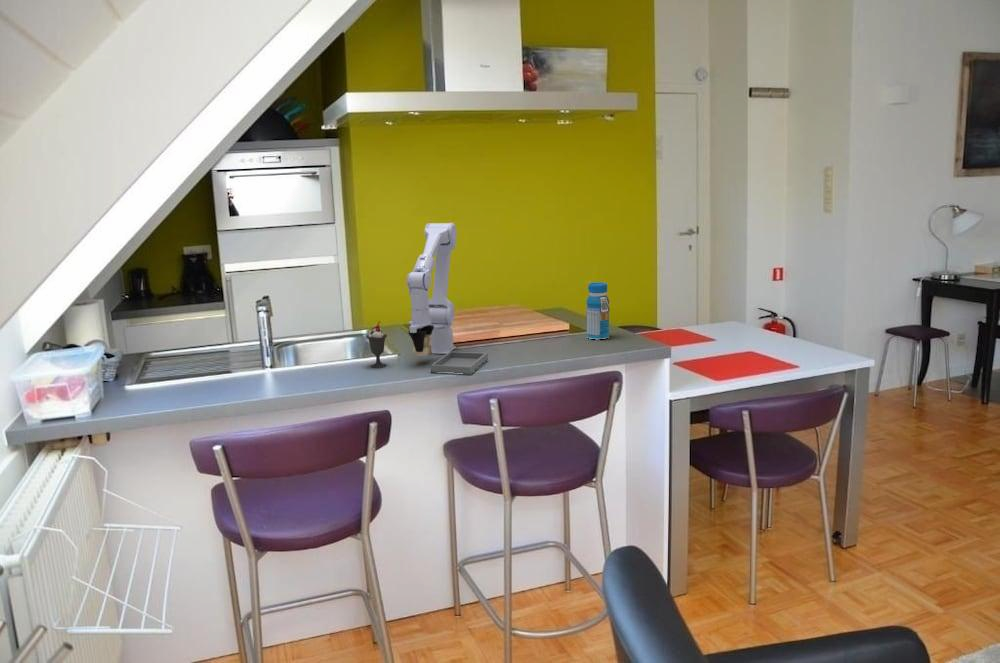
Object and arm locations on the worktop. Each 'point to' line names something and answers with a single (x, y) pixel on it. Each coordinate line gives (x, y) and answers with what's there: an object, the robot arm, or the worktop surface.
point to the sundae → (377, 344)
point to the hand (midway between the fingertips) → (422, 349)
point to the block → (426, 347)
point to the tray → (459, 362)
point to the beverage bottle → (597, 311)
